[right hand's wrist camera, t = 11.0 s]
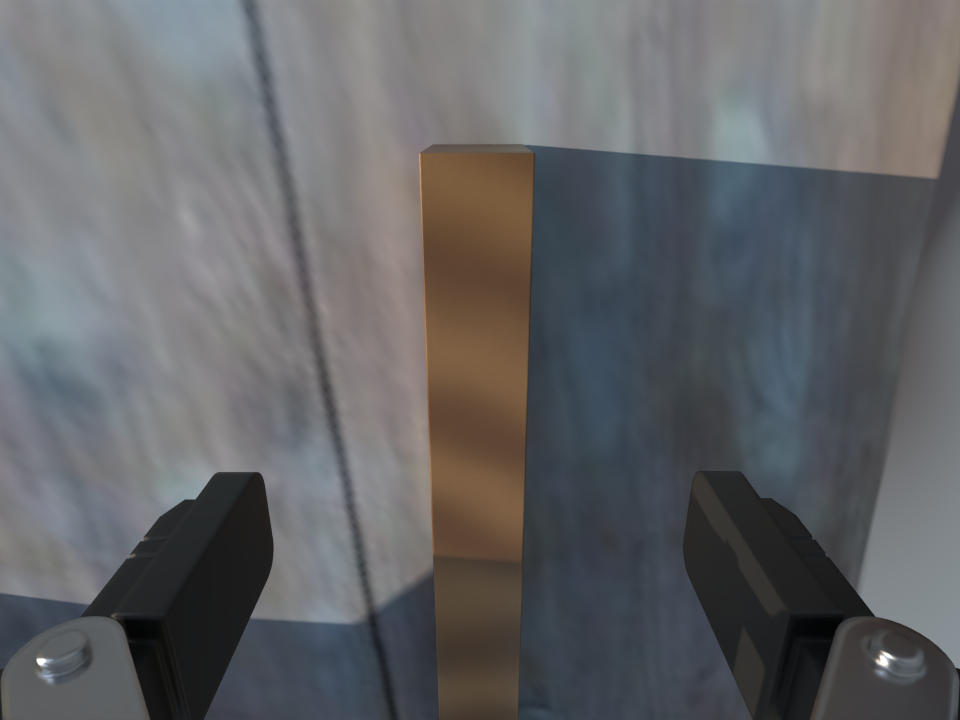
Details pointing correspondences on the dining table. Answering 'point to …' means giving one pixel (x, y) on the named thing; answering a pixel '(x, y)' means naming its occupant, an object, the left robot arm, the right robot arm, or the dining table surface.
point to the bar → (477, 414)
